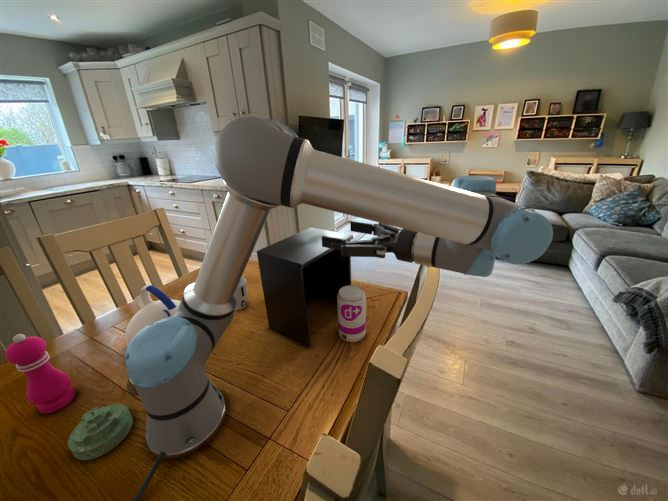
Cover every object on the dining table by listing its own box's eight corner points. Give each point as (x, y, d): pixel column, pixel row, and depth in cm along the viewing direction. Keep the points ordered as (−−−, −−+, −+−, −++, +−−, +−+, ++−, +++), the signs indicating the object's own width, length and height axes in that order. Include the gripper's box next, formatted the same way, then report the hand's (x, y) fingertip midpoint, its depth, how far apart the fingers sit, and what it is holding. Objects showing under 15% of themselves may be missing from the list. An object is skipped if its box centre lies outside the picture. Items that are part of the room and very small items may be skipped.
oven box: (354, 307, 96) (353, 235, 86) (310, 349, 78) (302, 264, 68) (316, 294, 105) (311, 227, 95) (269, 328, 87) (256, 250, 77)
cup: (246, 312, 96) (241, 287, 92) (223, 312, 96) (217, 288, 93) (253, 299, 104) (249, 276, 100) (232, 300, 104) (227, 276, 100)
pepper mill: (74, 384, 70) (38, 320, 63) (81, 399, 66) (43, 332, 58) (35, 404, 65) (-10, 337, 57) (39, 422, 61) (-9, 352, 53)
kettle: (178, 310, 99) (164, 265, 92) (215, 327, 89) (203, 278, 82) (114, 345, 83) (91, 294, 76) (151, 371, 73) (128, 315, 66)
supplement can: (364, 344, 79) (364, 300, 73) (336, 341, 81) (334, 298, 75) (366, 326, 86) (367, 285, 81) (341, 324, 88) (339, 283, 82)
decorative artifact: (60, 452, 55) (97, 466, 52) (44, 429, 52) (82, 442, 49) (110, 408, 64) (143, 417, 61) (98, 385, 61) (133, 395, 58)
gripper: (393, 285, 54) (309, 263, 65) (431, 244, 73) (361, 232, 84) (395, 250, 51) (306, 233, 62) (434, 217, 70) (360, 208, 81)
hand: (337, 233), depth 73 cm, fingers open, 13 cm apart
